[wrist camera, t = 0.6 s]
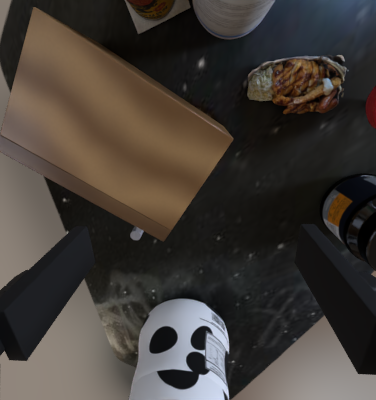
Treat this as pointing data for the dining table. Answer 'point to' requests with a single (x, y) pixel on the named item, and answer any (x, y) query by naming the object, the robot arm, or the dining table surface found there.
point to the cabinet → (107, 128)
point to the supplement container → (353, 214)
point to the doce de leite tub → (182, 353)
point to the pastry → (299, 83)
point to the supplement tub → (231, 16)
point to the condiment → (154, 11)
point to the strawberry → (371, 108)
